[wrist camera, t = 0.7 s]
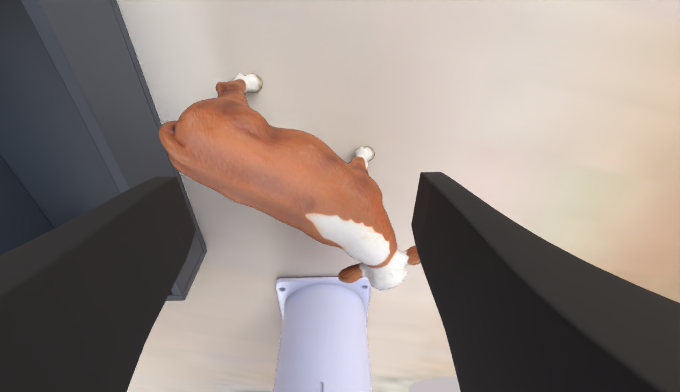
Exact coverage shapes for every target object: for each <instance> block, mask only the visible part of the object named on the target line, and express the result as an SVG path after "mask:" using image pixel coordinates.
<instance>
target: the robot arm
mask: <svg viewBox="0 0 680 392" xmlns="http://www.w3.org/2000/svg"><path fill="white" fill-rule="evenodd" d="M411 225H412V230H413V235H414V240H415V244H416V249H417V253H418V256H419V259H420V262H421V264H422V267H423V270H424V273H425V276H426V278H427V281H428V284H429V286H430V289H431V292H432V295H433V297H434V300H435V303H436V305H437V308H438V311H439V314H440V316H441V319H442V322H443V325H444V328H445V332H446V335H447V338H448V342H449V346H450V350H451V354H452V358H453V362H454V366H455V370H456V374H457V378H458V382H459V386H460V391H461V392H680V303H678V302H676V301H673V300H670V299H668V298H666V297H663V296H661V295H659V294H656V293H654V292H651V291H649V290H647V289H644V288H642V287H640V286H637V285H635V284H633V283H631V282H628V281H626V280H624V279H622V278H620V277H618V276H615V275H613V274H611V273H609V272H607V271H604V270H602V269H600V268H598V267H596V266H594V265H592V264H590V263H588V262H586V261H584V260H581V259H579V258H578V257H576V256H574V255H572V254H570V253H568V252H566V251H564V250H562V249H561V248H559V247H557V246H555V245H553V244H551V243H549V242H547V241H546V240H544V239H542V238H540V237H539V236H537V235H535V234H533V233H532V232H530V231H529V230H527V229H525V228H524V227H522V226H520V225H519V224H517V223H516V222H514V221H512V220H511V219H509V218H508V217H506V216H505V215H503V214H502V213H500V212H499V211H497V210H496V209H494V208H493V207H491V206H490V205H488V204H487V203H485V202H484V201H482V200H481V199H480V198H478V197H477V196H475V195H474V194H473V193H471V192H470V191H468V190H467V189H466V188H464V187H463V186H461V185H460V184H458V183H457V182H456V181H454V180H453V179H451V178H450V177H448V176H447V175H445V174H443V173H442V172H421V174H420V179H419V185H418V191H417V196H416V202H415V207H414V213H413V219H412V224H411ZM195 232H196V227H195V224H194V222H193V219H192V216H191V213H190V211H189V208H188V205H187V202H186V200H185V197H184V194H183V192H182V189H181V186H180V183H179V181H178V178H177V176H170V177H154V178H152V179H149V180H147V181H145V182H143V183H141V184H138V185H136V186H135V187H133V188H131V189H129V190H127V191H125V192H123V193H121V194H119V195H117V196H116V197H114V198H112V199H110V200H108V201H106V202H105V203H103V204H101V205H99V206H97V207H95V208H93V209H92V210H90V211H88V212H86V213H84V214H82V215H80V216H79V217H77V218H75V219H73V220H71V221H69V222H67V223H65V224H63V225H61V226H59V227H57V228H55V229H53V230H51V231H49V232H47V233H45V234H43V235H41V236H39V237H37V238H35V239H33V240H31V241H29V242H27V243H25V244H23V245H21V246H19V247H16V248H14V249H12V250H10V251H8V252H6V253H3V254H1V255H0V392H127V389H128V386H129V384H130V381H131V378H132V376H133V373H134V370H135V368H136V365H137V362H138V360H139V357H140V355H141V352H142V349H143V347H144V344H145V342H146V340H147V338H148V335H149V333H150V331H151V329H152V327H153V325H154V323H155V321H156V319H157V317H158V315H159V313H160V311H161V309H162V307H163V305H164V303H165V301H166V299H167V297H168V295H169V293H170V291H171V289H172V287H173V285H174V283H175V281H176V279H177V277H178V275H179V273H180V271H181V269H182V267H183V265H184V263H185V261H186V259H187V256H188V253H189V251H190V248H191V245H192V242H193V238H194V235H195ZM370 285H371V284H370V283H369V280H368V278H366V277H363V278H360V279H359V280H357V281H356V282H354V283H344V282H342V281H340V280H339V278H338V277H310V278H279V279H277V280H276V291H277V296H278V301H279V306H280V311H281V316H282V329H281V336H280V343H279V351H278V358H277V365H276V373H275V380H274V388H273V392H373V386H372V376H371V367H370V358H369V348H368V339H367V330H366V329H367V318H368V307H369V296H370Z"/></svg>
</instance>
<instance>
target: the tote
mask: <svg viewBox="0 0 680 392" xmlns="http://www.w3.org/2000/svg"><path fill="white" fill-rule="evenodd" d="M160 128H161V123H160V120H159V117H158V115H157V112H156V109H155V106H154V104H153V101H152V98H151V95H150V93H149V90H148V87H147V84H146V82H145V79H144V76H143V73H142V71H141V68H140V65H139V62H138V60H137V57H136V54H135V51H134V49H133V46H132V43H131V40H130V37H129V35H128V32H127V29H126V26H125V24H124V21H123V18H122V15H121V13H120V10H119V7H118V4H117V2H116V0H0V255H1V254H3V253H6V252H8V251H10V250H12V249H14V248H16V247H19V246H21V245H23V244H25V243H27V242H29V241H31V240H33V239H35V238H37V237H39V236H41V235H43V234H45V233H47V232H49V231H51V230H53V229H55V228H57V227H59V226H61V225H63V224H65V223H67V222H69V221H71V220H73V219H75V218H77V217H79V216H80V215H82V214H84V213H86V212H88V211H90V210H92V209H93V208H95V207H97V206H99V205H101V204H103V203H105V202H106V201H108V200H110V199H112V198H114V197H116V196H117V195H119V194H121V193H123V192H125V191H127V190H129V189H131V188H133V187H135V186H136V185H138V184H141V183H143V182H145V181H147V180H149V179H152V178H154V177H170V176H177V178H178V181H179V183H180V186H181V189H182V192H183V194H184V197H185V200H186V202H187V205H188V208H189V211H190V213H191V216H192V219H193V222H194V224H195V227H196V232H195V235H194V238H193V242H192V245H191V248H190V251H189V253H188V256H187V259H186V261H185V263H184V265H183V267H182V269H181V271H180V273H179V275H178V277H177V279H176V281H175V283H174V285H173V287H172V289H171V291H170V293H169V295H168V297H167V299H166V301H182V300H185V299H186V296H187V294H188V292H189V290H190V288H191V285H192V283H193V281H194V279H195V276H196V274H197V272H198V270H199V268H200V265H201V263H202V261H203V259H204V256H205V254H206V252H207V250H206V247H205V244H204V241H203V239H202V236H201V233H200V230H199V228H198V225H197V222H196V219H195V217H194V214H193V211H192V208H191V206H190V203H189V200H188V197H187V194H186V192H185V189H184V186H183V183H182V181H181V178H180V175H179V172H178V170H177V169H176V168H175V167H174V166H173V164H172V163H171V161H170V159H169V154H168V152H167V151H166V150H165V149H164V147H163V145H162V144H161V141H160V138H159V129H160Z"/></svg>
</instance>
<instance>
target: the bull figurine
mask: <svg viewBox="0 0 680 392" xmlns="http://www.w3.org/2000/svg"><path fill="white" fill-rule="evenodd" d="M261 87H262V80H261V79H260V78H259V77H258V76H257V75H254V74H248V75H246V76H243V75H242V74H238V75H237V76H236V77H235V79H233V80H231V81H229V82H219V83H217V85H216V90H217V92H218V98H212V99H207V100H202V101H199V102H196V103H194V104H192V105H191V106H190V107H188V108H187V109H186V110H185V111H184V112H183V113H182V115H181V116H180V118H179V120H178V121H170V122H166V123H164V124H163V125H162V126H161V128H160V129H159V138H160V141H161V144H162V145H163V147H164V149H165V150H166V151H167V152H168V154H169V159H170V161H171V163H172V164H173V166H174V167H175V168H176V169H178V170H179V171H180V172H182V173H183V174H185V175H186V176H188V177H190V178H191V179H193V180H195V181H197V182H199V183H201V184H203V185H205V186H208V187H210V188H212V189H214V190H216V191H218V192H219V193H221V194H223V195H224V196H226V197H227V198H229V199H231V200H233V201H235V202H238V203H241V204H244V205H247V206H250V207H253V208H255V209H257V210H260V211H262V212H264V213H266V214H268V215H270V216H272V217H274V218H276V219H277V220H279V221H281V222H283V223H285V224H288V225H290V226H293V227H295V228H298V229H300V230H301V231H303V232H304V233H306V234H307V235H309V236H310V237H312V238H313V239H315V240H317V241H319V242H321V243H324V244H327V245H330V246H336V247H339V248H341V249H343V250H344V251H345V252H346V253H347V254H348V255H349V256H351V257H352V258H354V259H356V260H358V261H360V262H361V263H360V264H356V265H352V266H349V267H347V268H345V269H343V270H342V271H340V273H339V277H338V278H339V280H340V281H342V282H344V283H354V282H356V281H357V280H359V279H360V278H363V277H366V278H368V280H369V283H370V284H371V286H372V287H374V288H376V289H378V290H380V291H381V290H388V289H391V288H394V287H396V286H397V285H398V284H399V283H400V282H402V281H404V279H405V278H406V276H407V274H408V270H407V267H406V266H407V265H417V264H419V263H421V262H420V259H419V256H418V253H417V249H416V246H413V247H410V248H409V249H408V250H406V251H400V250H399V249H398V246H397V243H396V238H395V233H394V231H393V228H392V226H391V223H390V221H389V218H388V215H387V212H386V211H385V209H384V207H383V204H382V193H381V190H380V189H379V187H378V185H377V184H376V182H375V181H374V180H373V179H372V178H371V177H369V175H368V171H367V168H368V162H367V161H370V160H371V159H372V158H373V157H374V155H375V153H374V150H373V149H372V148H370V147H365V148H363V147H360V148H359V149H358V150H355V151H354V154H355V158H353V159H352V161H351V162H350V163H348V164H347V163H346V162H345V161H343V160H342V159H341V158H340V157H339V156H337V155H336V154H335V153H334V152H333V151H332V150H331V149H330V148H329V147H328V146H327V145H326V144H325V143H324V142H322V141H321V140H319V139H318V138H316V137H315V136H313V135H311V134H309V133H306V132H304V131H300V130H294V129H284V128H275V127H272V126H270V125H269V124H268V123H267V121H266V120H265V119H264V118H263V117H262V116H261V115H260V114H259V113H257V112H256V111H254V110H253V109H251V108H250V107H249V106H248V103H247V100H246V97H245V92H247V91H248V92H258V91H260V89H261Z"/></svg>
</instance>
